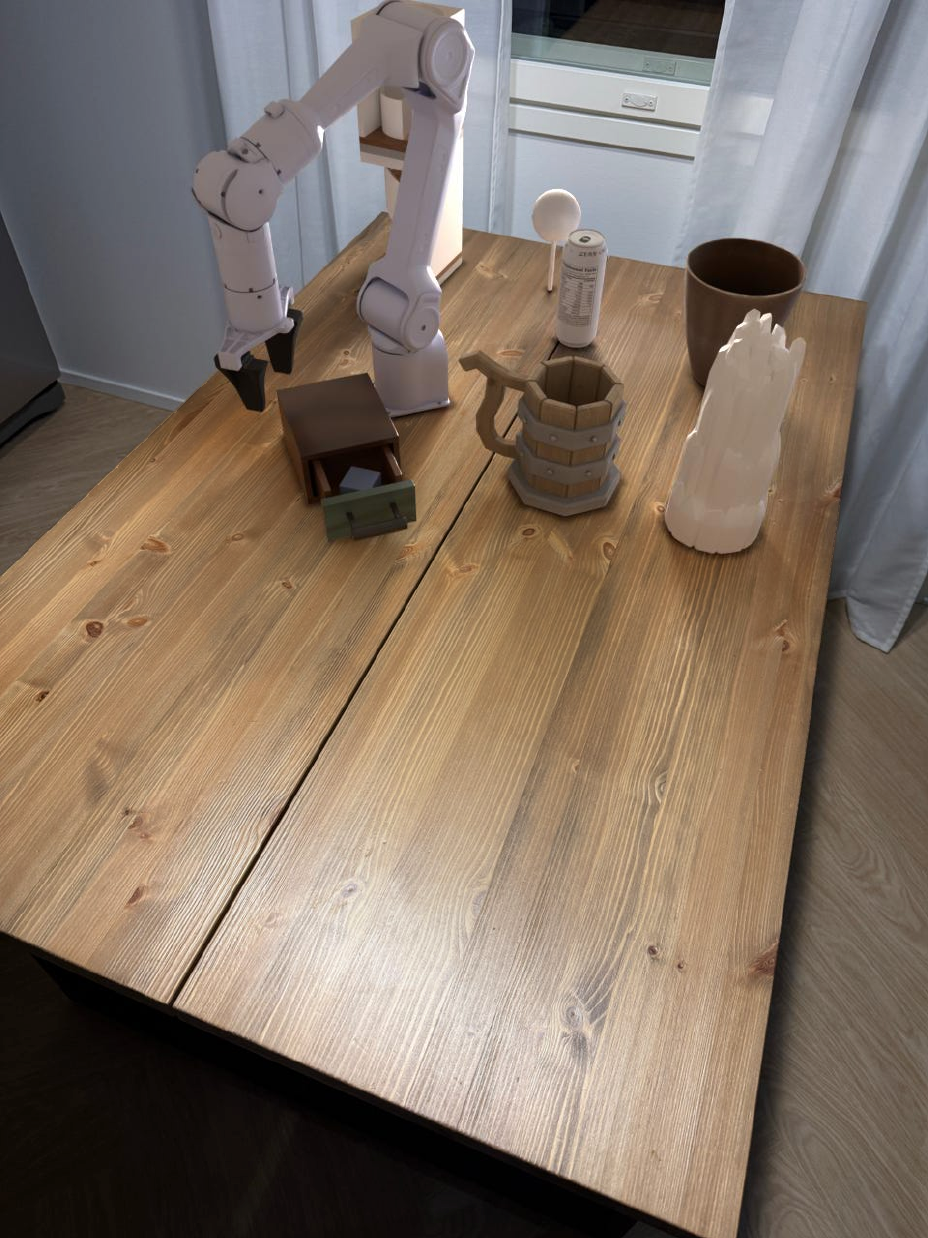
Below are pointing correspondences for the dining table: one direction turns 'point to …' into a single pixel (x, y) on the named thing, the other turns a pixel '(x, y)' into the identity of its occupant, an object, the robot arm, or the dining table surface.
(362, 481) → the block
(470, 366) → the tankard
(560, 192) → the lollipop
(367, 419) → the cabinet
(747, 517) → the cream upright sculpted piece
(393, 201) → the display case
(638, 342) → the dining table surface
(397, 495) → the drawer
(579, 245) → the energy drink can
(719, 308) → the flower pot
